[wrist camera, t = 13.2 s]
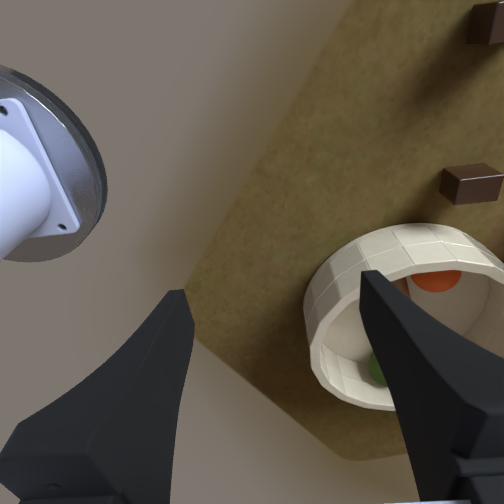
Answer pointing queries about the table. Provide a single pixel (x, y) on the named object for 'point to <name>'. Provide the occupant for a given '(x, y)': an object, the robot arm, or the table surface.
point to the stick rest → (481, 175)
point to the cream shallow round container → (436, 304)
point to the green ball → (376, 370)
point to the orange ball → (437, 280)
